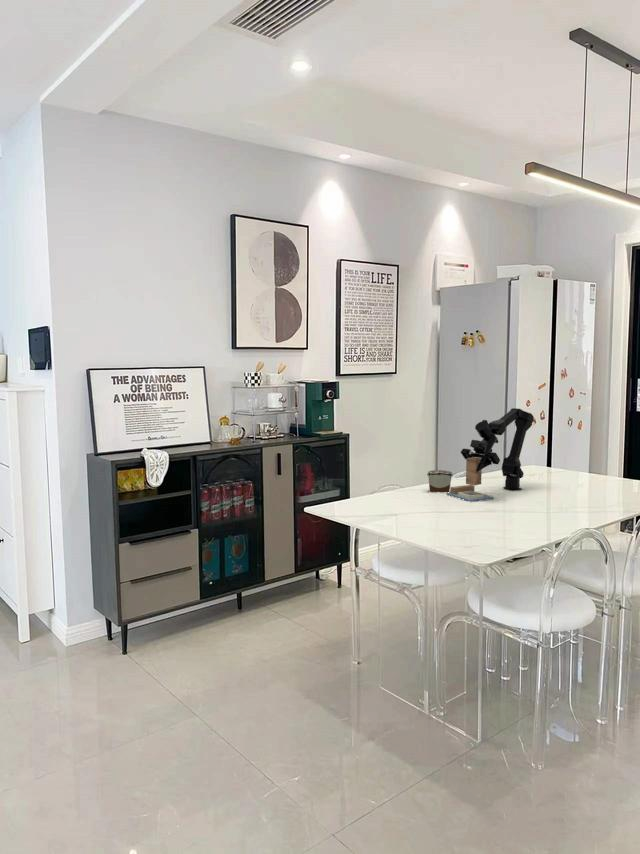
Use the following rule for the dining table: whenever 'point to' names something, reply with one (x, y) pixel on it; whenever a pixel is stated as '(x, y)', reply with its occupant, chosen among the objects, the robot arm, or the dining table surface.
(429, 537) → the dining table surface
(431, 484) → the food container
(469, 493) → the blueprint board
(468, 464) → the pillar
